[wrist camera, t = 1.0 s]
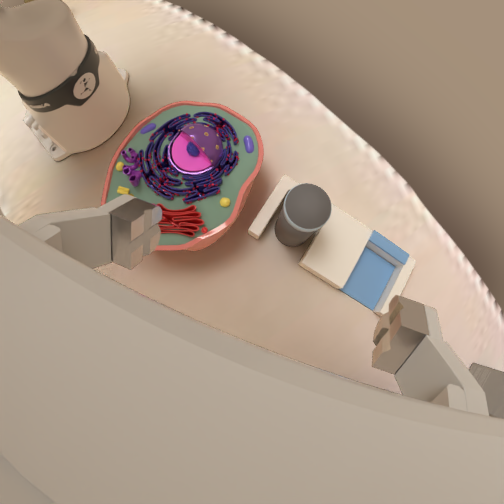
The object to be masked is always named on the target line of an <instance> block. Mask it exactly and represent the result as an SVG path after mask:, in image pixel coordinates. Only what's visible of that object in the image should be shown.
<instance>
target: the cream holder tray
mask: <svg viewBox="0 0 504 504" xmlns="http://www.w3.org/2000/svg"><path fill="white" fill-rule="evenodd" d="M299 184H300V183H298V182H296V181H295V180H293V179H291V178H290V177H288V176H286V175H285V174H284V175H283V177H282V178H281V180H280V181H279V183H278V184H277V186H276V187H275V189H274V190H273V192H272V193H271V195H270V196H269V198H268V200H267V201H266V203H265V204H264V206H263V207H262V209H261V210H260V212H259V214H258V215H257V217H256V218H255V220H254V221H253V223H252V224H251V226H250V227H249V229H248V234H250V235H251V236H253V237H254V238H256V239H259V237H260V236H261V234H262V233H263V231H264V229H265V228H266V226H267V225H268V223H269V222H270V220H271V218H272V217H273V215H274V214H275V212H276V210H277V209H278V207H279V206H280V204H281V203H282V201H283V199H284V198H285V196H286V195H287V194H288V192H289V191H290V190H291V189H292V188H293V187H295V186H297V185H299ZM331 206H332V211H331V215H330V218H329V220H328V221H327V222H326V223H325V224H324V225H323V226H322V227H321V228H320V229H319V230H318V232H317V233H316V235H315V237H314V238H313V240H312V242H311V244H310V245H309V247H308V249H307V250H306V252H305V254H304V255H303V257H302V259H301V261H300V262H299V264H298V265H300V266H301V267H303V268H304V269H306V270H308V271H309V272H311V273H312V274H314V275H316V276H317V277H319V278H320V279H322V280H324V281H325V282H327V283H328V284H330V285H332V286H333V287H335V288H336V289H339V290H341V291H342V292H344V293H346V294H347V295H349V296H350V297H352V298H354V299H355V300H357V301H358V302H360V303H361V304H363V305H365V306H366V307H368V308H369V309H371V310H372V311H373V312H374V313H376V314H377V315H379V316H380V317H381V316H382V315H383V314H385V313H387V312H389V303H390V301H391V300H392V298H393V297H394V296H395V295H398V296H400V295H401V293H402V291H403V289H404V287H405V285H406V283H407V280H408V278H409V276H410V274H411V272H412V270H413V267H414V265H415V263H416V261H415V260H414V259H413V258H411V257H410V256H409V254H408V253H406V252H405V251H403V250H402V249H401V248H399V247H398V246H396V245H395V244H394V243H392V242H391V241H389V240H388V239H387V238H385V237H384V236H382V235H381V234H379V233H378V232H376V231H375V230H374V231H373V230H371V229H370V228H368V227H367V226H365V225H364V224H362V223H361V222H359V221H358V220H356V219H355V218H353V217H352V216H350V215H349V214H347V213H346V212H344V211H343V210H341V209H340V208H338V207H337V206H335V205H333V204H332V203H331ZM365 246H366V247H365ZM368 248H369V249H368ZM371 250H372V251H371ZM374 252H375V253H374ZM377 254H378V255H377ZM387 261H388V262H387ZM390 263H391V264H390ZM393 265H394V266H393ZM382 292H383V293H382ZM381 294H382V295H381ZM380 296H381V297H380ZM379 298H380V299H379Z"/></svg>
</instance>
